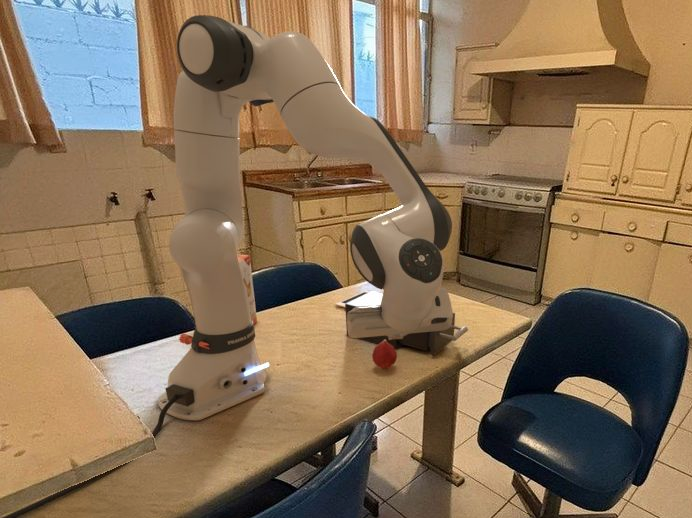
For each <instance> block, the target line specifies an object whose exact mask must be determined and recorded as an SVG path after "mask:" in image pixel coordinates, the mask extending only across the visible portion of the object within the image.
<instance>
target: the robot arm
mask: <svg viewBox="0 0 692 518" xmlns="http://www.w3.org/2000/svg"><path fill="white" fill-rule="evenodd" d="M176 55H177V58H178V63H179V65H180V67H181V69H182V71H180V73H179V75H178V77H177V79H176V80H177V81H176V85H175V86H176V87H175V93H174V104H173V105H174V106H173V129H174V130H173V135H174V153H175V154H174V155H175V173H176V178H177V180H178V182H179V185H180V189H181V193H182V198H183V203H184V217H183V218H181V219H180V220H179V221H178V222H177V223H175V225H174V227H173V229H172V231H171V234H170V237H169V243H168V248H169V254H170V257H171V259H172V260H173V261H174V263H175V264H176V265H177V266H178V269H179V271H180V274H181V276H182V279H183V281H184V283H185V286H186V288H187V292H188V295H189V298H190V303H191V308H192V313H193V318H194V324H195V328H194V330H193V334H192V335H190V334H188V333H182V334H180V335H179V337H178V340H179V342H180V343H181V344H185V345H187V346H188V345H190V346H191V348H190V349H189V350H188V351H187V352H186V354H185V355H184V356H183V357H182V358H181V360H179V362H178V363H177V364H176V365H175V366H174V368H173V369H172V370H171V371H170V373H169V375H168V378H167V387H165V392H164V393H162V394H161V395H159V396H158V398H157V404H158V407H159V408H160V410H161V411H160V413H159V416H158V420H157V423H156V426H155V427H154V429H153V431H152V433H151V434H153V436H154V439H155V438H156V437H157V435H158V434H159V433H160V430H161V428H162V427H163V425H164V421H165V416H166V414H167V415H169V416H171V417H174V418H177V419H180V420H185V421H202V420H204V419H206V418H208V417H210V416H213V415H215V414H218V413H220V412H223V411H224V410H227V409H230V408H231V407H234V406H236V405H239V404H240V403H243V402H246V401H247V400H250V399H252V398H255V397H257V396H260V395H261V394H264V393H265V391H266V389H265V388H266V387H265V382H266V381H267V374H266V372H265V370H264V369H266V368H268V367H270V363H269V362H266V363H263V364H262V363H261V360H260V357H259V354H258V350H257V347H256V341H255V338H256V331H255V325H254V324H253V321H252V320H251V316H250V309H249V302H248V295H247V288H246V285H245V284H244V281H243V278H242V274H241V270H240V267H239V262H238V257H237V255H238V251H239V250H238V249H239V247H240V245H241V244H242V242H243V239H244V215H243V201H242V191H241V179H240V178H241V177H240V174H241V173H240V172H241V171H240V168H241V167H240V164H241V163H240V114H241V111H242V109H243V107H244V106H245V105H246V104H247V103H250V104H251V105H252V106H254V107H260V106H263V105H266V104H271V103H274V106H275V107H276V109H277V111H278V112H279V115H280V117H281V119H282V121H283V123H284V126H285V127H286V129H287V130H288V132H289V134H290V135H291V137H292V139H293V140H294V141H295V142H296V143H297V145H298V146H299V147H300V148H301V149H302V150H304V151H305V152H308V153H310V154H312V155H315V156H317V157H322V158H327V159H348V160H357V161H361V162H365V163H368V164H369V165H371V166H373V167H375V168H376V169H377V171H379V172H380V174H381V176H382V177H383V178H384V180H385V181H386V182H387V184H388V185H389V187H390V189H392V191H393V193H394V194H395V195H396V196H397V197H398V199H399V201H400V202H401V204H402V205H400V206H399V207H396V208H394V209H392V210H389V211H386V212H385V213H383V214H378V215H376V216H374V217H372V218H370V219H367V220H365V221H363V222H361V223H359V224H356V225H355V226H354V228H353V231H352V233H351V237H350V243H349V244H350V245H349V251H350V256H351V261H352V263H353V264H354V267H355V269H356V270H357V272H358V273H359V274H360V276H361V277H362V278H363V279H364V280H365V281H366V282H367V283H369V284H370V285H371V286H373V287H375V288H376V289H379V290H383V292H382V293H383V296H382V301H381V304H377V305H363V306H357V307H355V308H353V309H352V310H351V311H349V312H348V313H347V328H346V331H347V330H348V335H349V336H348V337H350V339H351V338H352V339H358V338H363V337H374V336H388V339H389V340H394V339H403V336H405V335H407V334H409V333H420V332H432V331H443V330H446V329H448V328H449V327H450V326H451V324H452V318H453V313H454V312H453V307H452V306H453V305H452V302H451V298H450V294H449V291H448V289H447V288H446V287H442V284H443V283H442V282H443V280H444V279H443V278H444V274H445V273H444V270H445V265H444V264H445V263H444V257H443V254H442V252H441V251H444V250H445V249H446V248H447V246H448V244H449V241H450V240H451V236H452V231H453V221H452V217H451V215H450V213H449V211H448V209H447V208H446V206H445V205H444V204H443V203H442V202H441V201H440V200H439V198H437V197H436V196H435V194H434V193H432V191H431V190H430V189H429V188H428V187H427V185H426V184H425V182H424V180H423V179H422V177H420V175H419V173H418V172H417V170H416V169H415V167H414V166H413V165H412V164H411V162H410V161H409V159H408V158H407V157H406V154H404V152H403V150H402V149H401V148H400V146H399V145H398V143H397V142H396V140H395V139H394V138H393V136H392V135H391V134H390V132H389V131H388V130H387V128H386V127H385V126H384V125H383V124H382V123H381V122H380V121H379V120H378V119H377V118H376V117H374V116H370V115H367V114H366V113H364V112H363V111H362V110H360V109H359V107H357V106H356V105H355V104H354V103H353V102H352V101H351V100H350V99H349V98H348V96H347V95H346V93H345V92H344V90H343V88H342V87H341V84H340V82H339V81H338V79H337V77H336V75H335V74H334V72H333V69H332V68H331V67H330V65H329V64H328V62H327V60H326V59H325V57H324V56H323V55H322V53H321V52H320V51H319V49H318V48H317V47H316V45H315V44H314V43H313V41H312V40H311V39H310V38H309V37H308V36H307V35H305V34H304V33H301V32H298V31H293V30H288V31H281V32H279V33H277V34H275V35H273V36H272V37H270V36H268V35H267V34H265V33H263V32H261V31H259V30H258V29H255V28H253V27H250V26H248V25H242V24H239V23H236V22H233V21H232V22H231V21H227V20H226V19H224V18H222V17H220V16H216V15H215V16H214V15H209V14H199V15H193V16H190V17H189V18H188V19H186V20H185V21H184V22H183V23H182V25H181V27H180V29H179V31H178V34H177V39H176ZM452 312H453V313H452ZM119 467H120V466H118V467H116V468H114V469H112V470H110V471H107V472H105V473H103V474H100V475H98V476H95V477H93V478H91V479H89V480H87V481H84V482H82V483H79V484H77V485H74V486H71V485H70V486H71V487H69V486H68V487H69V488H67V487H66V488H67V489H65V488H63V489H64V490H63V489H61V490H62V491H61V490H59V491H60V492H59V491H56V492H57V493H56V492H54V493H55V494H54V493H52V494H53V495H52V494H50V495H48V496H46V497H44V498H41V499H40V500H37V501H35V502H33V503H31V504H29V505H27V506H25V507H22V508H20V509H18V510H16V511H14V512H11V513H9V514H7V515H5V516H2V517H1V518H18V517H21V516H24V515H26V514H28V513H31V512H32V511H34V510H36V509H38V508H40V507H42V506H45V505H47V504H49V503H51V502H53V501H56V500H57V499H60V498H61V497H63V496H65V495H68V494H69V493H72V492H73V491H76V490H78V489H80V488H82V487H85V485H88V484H89V483H91V482H93V481H95V480H97V479H99V478H101V477H102V476H104V475H106V474H109V473H110V472H112V471H114V470H116V469H117V468H119Z"/></svg>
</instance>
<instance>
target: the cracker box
mask: <svg viewBox="0 0 692 518" xmlns="http://www.w3.org/2000/svg"><path fill="white" fill-rule="evenodd" d="M237 257H238V262H239V267H240V270H241V274H242V278H243V281H244V284H245V285H246V288H247V295H248V302H249V309H250V316H251V320H252V321H253V324H254V326H255V325H256V324H257V323H258V317H257V310H256V308H257V307H256V301H255V291H254V282H253V273H252V265H251V255H250V254H237Z"/></svg>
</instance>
